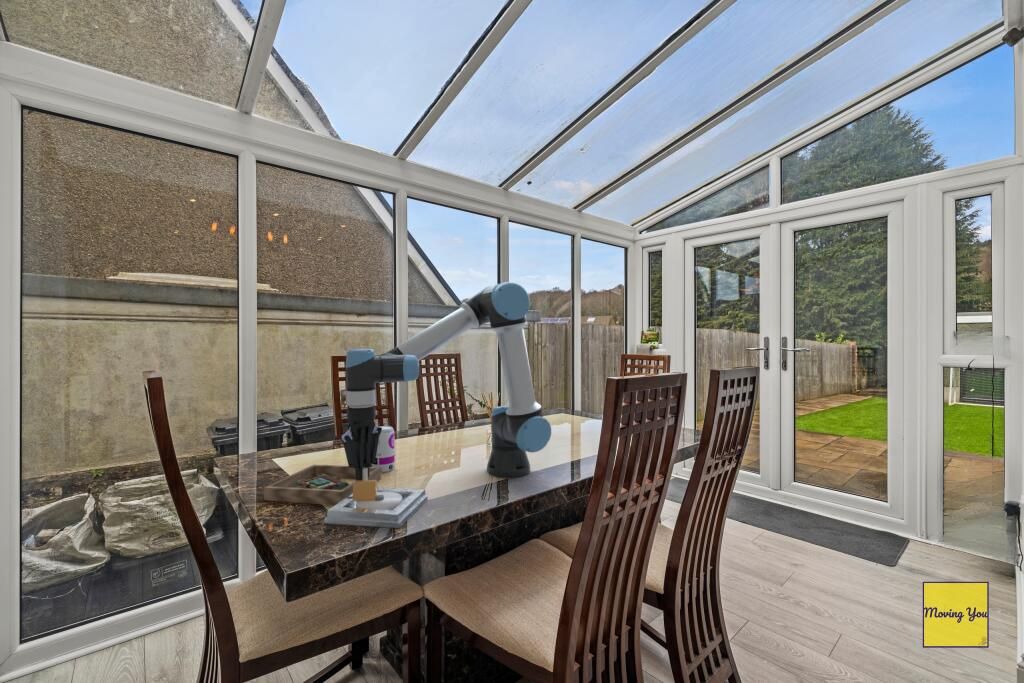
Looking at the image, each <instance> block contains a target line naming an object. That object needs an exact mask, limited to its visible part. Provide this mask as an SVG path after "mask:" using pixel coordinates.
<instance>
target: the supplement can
mask: <svg viewBox="0 0 1024 683" xmlns="http://www.w3.org/2000/svg"><path fill="white" fill-rule="evenodd" d="M378 427H381V428H382V431H381V433H380V436H379V441H378V447H377V453H376V459H375V462H374V463H372V467H382V473H388V472H392V471H393V470H394V469H395V466H396V463H395V461H396V460H395V459H396V457H395V456H396V454H395V450H396V448H395V430H394V428H393V426H388V425H384V426H383V425H381V426H378Z"/></svg>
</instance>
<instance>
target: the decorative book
mask: <svg viewBox="0 0 1024 683" xmlns="http://www.w3.org/2000/svg"><path fill="white" fill-rule="evenodd" d="M296 485H297V486H299V487H301V488H310V489H329V490H342V489H343V488H345V487H347V486H348V485H350V483H348V482H347V481H344V480H342V478H339V477H330V476H328V475H325V474H322V475H319V476H315V477H313V478H310V479H306V480H305V479H303V480H298V481H296Z"/></svg>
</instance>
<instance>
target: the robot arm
mask: <svg viewBox="0 0 1024 683" xmlns="http://www.w3.org/2000/svg"><path fill="white" fill-rule="evenodd" d="M530 306H531V300H530V296H529V293H528V292H527V290H526V289H525V287H523V286H522V285H521V284H519V283H517V282H513V281H512V282H511V281H507V282H504V281H503V282H500V283H497V284H494V285H489V286H487V287H486V286H485V287H484V288H482V289H481V290H480V291H478V292H477V293H476V294H474V295H473V296H471V297H470V298H468V299H467V300H465V301H464V302H461V304H460V307H459V308H458V309H457V310H455V311H453V312H451V313H449V314H448V315H447V316H444V317H442V318H441V319H439V320H438V321H436V322H435V323H433V324H431V325H430V326H429V327H426V328H425V329H423V330H421V331H420V332H418V333H416V334H414V335H413V336H412V337H410V338H408V339H407V340H405V341H403V342H402V343H400V344H398V345H396V346H395V347H393V348H391V349H389V351H387V352H385V353H384V352H382V353H381V354H379V355H376V351H375V349H374V348H373V349H372V348H355V349H354V348H353V349H349V350H347V351H346V357H345V362H346V363H345V383H346V386H345V387H346V391H345V392H346V405H347V406H348V407H347V408H346V420H347V422H348V425H347V428H346V429H347V430H346V431H345V433H344V434H340V436H339V439H340V440H341V443H342V444H343V448H344V452H345V457H346V462H347V466H349V467H350V468H355V476H356V477H355V478H354V479H355V481H356V480H357V481H360V480H368V478H369V467H372V463H374V462H375V459H376V453H377V447H378V441H379V436H380V433H381V431H382V428H381V427H379V426H378V425H376V421H375V419H376V417H377V412H376V405H375V404H376V384H377V383H378V384H381V383H395V382H396V383H398V382H399V383H401V382H405V383H407V382H413V381H414V382H415V381H416V380H417V379H418V378H419V375H420V363H419V361H421V360H422V359H424V358H426V357H427V356H429V355H430V354H432V353H433V352H435V351H436V350H438V349H440V348H441V347H443V346H445V345H447V344H448V343H450V342H451V341H453V340H455V339H456V338H459V336H461V335H462V334H464V333H465V332H468V331H469V330H470V329H472V328H473V329H479V327H481V326H483V325H486V324H488V323H489V324H490V329H491V330H492V331H493V332H495V334H496V338H497V342H498V343H497V344H498V349H499V352H500V353H499V354H500V360H501V366H502V371H503V377H504V382H505V388H506V394H507V400H508V405H502V406H501V405H500V406H494V407H493V408H492V409H491V416H490V419H491V452H490V455H489V458H488V461H487V464H486V473H487V474H488V475H489V476H493V477H496V478H503V479H504V478H520V477H524V476H526V475H529V474H530V473H531V464H530V460H529V457H528V454H527V452H528V453H537V452H539V451H541V450H543V449H544V448H545V447H547V445H548V442H550V440H551V437H552V426H551V424H550V422H549V420H548V419H546V418H545V417H544V414H543V408H542V405H541V404H539V402H537V401H536V398H535V397H536V396H535V391H534V385H533V378H532V372H531V367H530V360H529V355H528V350H527V343H526V342H527V341H526V338H525V337H526V336H525V331H524V328H525V327H526V325H527V324H528V319H527V314H528V311H529V310H530V308H531V307H530Z"/></svg>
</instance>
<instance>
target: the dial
mask: <svg viewBox="0 0 1024 683" xmlns="http://www.w3.org/2000/svg"><path fill="white" fill-rule="evenodd" d="M352 483H353V501H356V508H361V509H365V508H368V509H378V510H394V509H395V508H396V507H397V506H398V505H400V504H401V503H402V496H401V495H400V494H398V493H394V492H377V487H378V486H377V483H378V482H377V480H360V481H356V480H353V481H352Z"/></svg>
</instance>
